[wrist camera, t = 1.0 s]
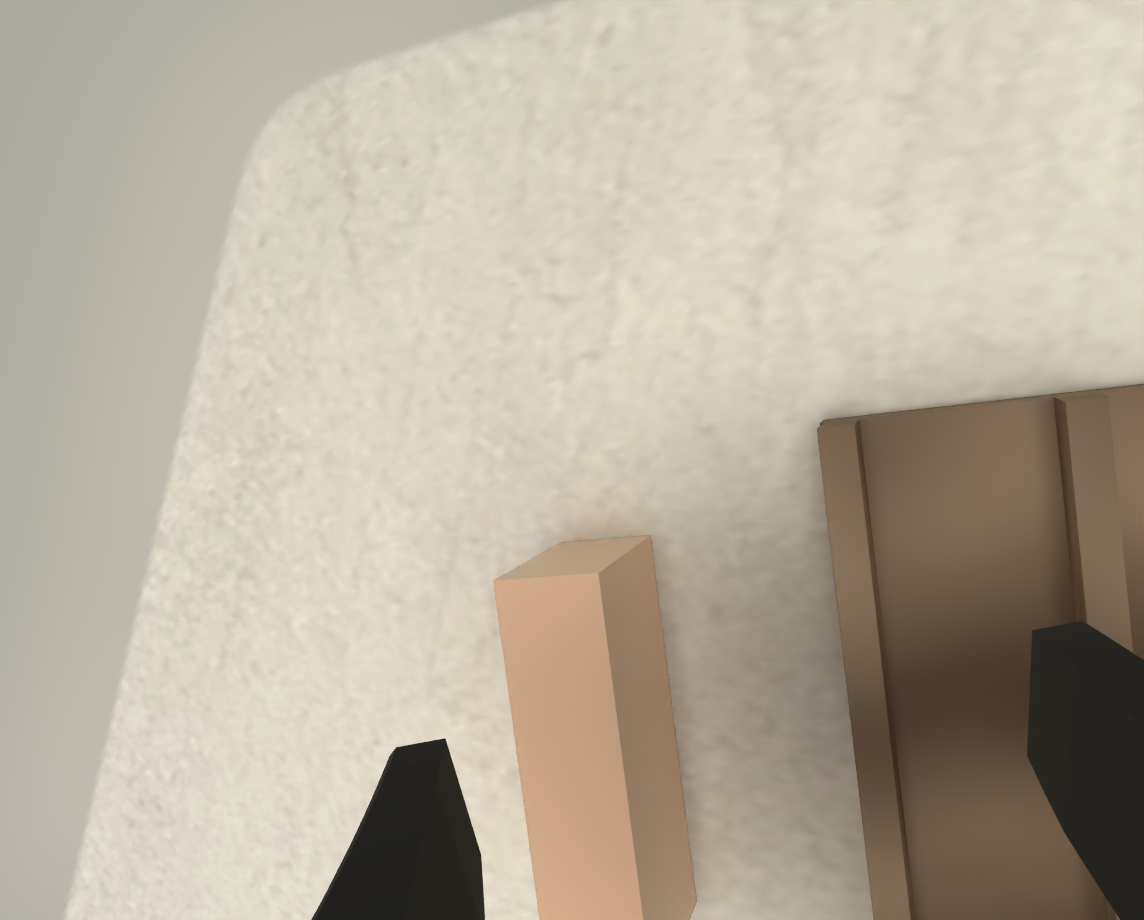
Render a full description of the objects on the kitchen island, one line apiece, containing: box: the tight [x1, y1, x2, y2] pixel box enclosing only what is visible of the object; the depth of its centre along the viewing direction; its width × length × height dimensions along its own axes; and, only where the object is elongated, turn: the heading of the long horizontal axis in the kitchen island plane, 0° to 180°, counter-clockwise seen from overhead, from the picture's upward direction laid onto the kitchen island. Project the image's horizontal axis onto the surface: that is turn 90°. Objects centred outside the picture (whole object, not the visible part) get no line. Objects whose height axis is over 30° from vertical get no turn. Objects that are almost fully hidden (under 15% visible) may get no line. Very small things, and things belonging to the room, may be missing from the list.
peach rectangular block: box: [493, 535, 697, 920], centre depth 26 cm, size 10×2×5 cm, turn 8°
